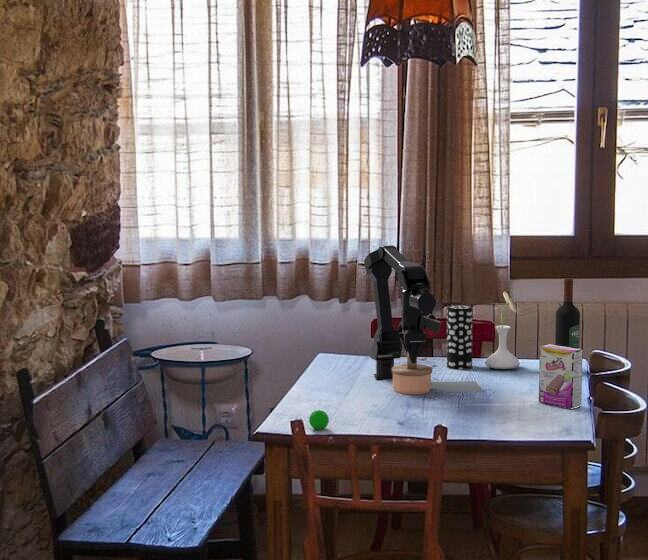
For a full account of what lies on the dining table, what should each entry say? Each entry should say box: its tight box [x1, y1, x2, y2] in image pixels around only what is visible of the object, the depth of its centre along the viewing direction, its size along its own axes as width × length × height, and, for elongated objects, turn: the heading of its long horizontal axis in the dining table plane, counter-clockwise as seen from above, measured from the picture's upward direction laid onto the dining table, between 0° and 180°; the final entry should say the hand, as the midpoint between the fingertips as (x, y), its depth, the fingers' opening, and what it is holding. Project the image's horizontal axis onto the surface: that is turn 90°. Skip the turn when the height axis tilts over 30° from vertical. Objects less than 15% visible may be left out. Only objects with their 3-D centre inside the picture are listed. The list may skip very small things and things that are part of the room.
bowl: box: [392, 373, 432, 395], centre depth 303 cm, size 11×11×6 cm
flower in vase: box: [484, 291, 521, 370], centre depth 334 cm, size 13×11×25 cm
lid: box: [392, 351, 433, 376], centre depth 302 cm, size 12×12×6 cm
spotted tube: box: [446, 304, 474, 371], centre depth 336 cm, size 8×8×20 cm
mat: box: [431, 380, 485, 394], centre depth 307 cm, size 14×14×1 cm
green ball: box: [308, 409, 330, 431], centre depth 262 cm, size 5×5×5 cm
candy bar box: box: [538, 343, 584, 409], centre depth 284 cm, size 11×5×16 cm, turn 44°
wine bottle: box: [554, 278, 581, 349], centre depth 326 cm, size 8×8×30 cm
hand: (411, 360), depth 302 cm, fingers open, 9 cm apart
